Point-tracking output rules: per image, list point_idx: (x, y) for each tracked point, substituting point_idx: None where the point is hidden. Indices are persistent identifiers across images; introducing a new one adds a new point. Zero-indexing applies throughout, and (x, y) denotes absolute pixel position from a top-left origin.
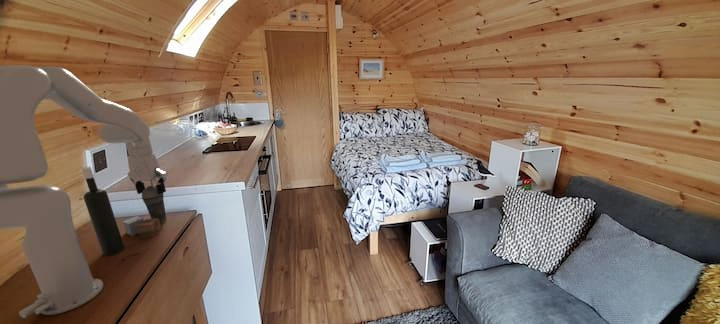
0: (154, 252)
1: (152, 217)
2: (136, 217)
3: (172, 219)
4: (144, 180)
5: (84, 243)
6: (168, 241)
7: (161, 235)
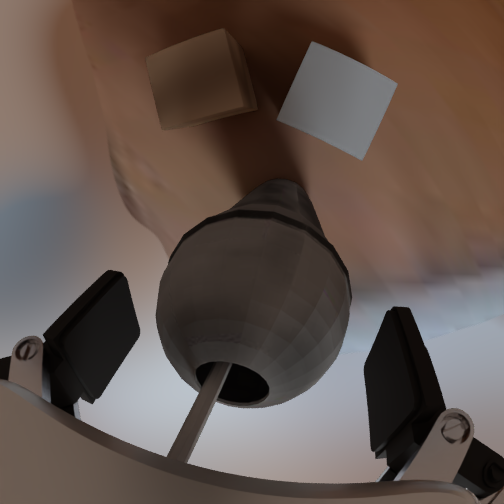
0: (92, 3)
1: (280, 184)
2: (346, 135)
3: None
4: (76, 436)
5: (474, 32)
6: (92, 59)
7: None
